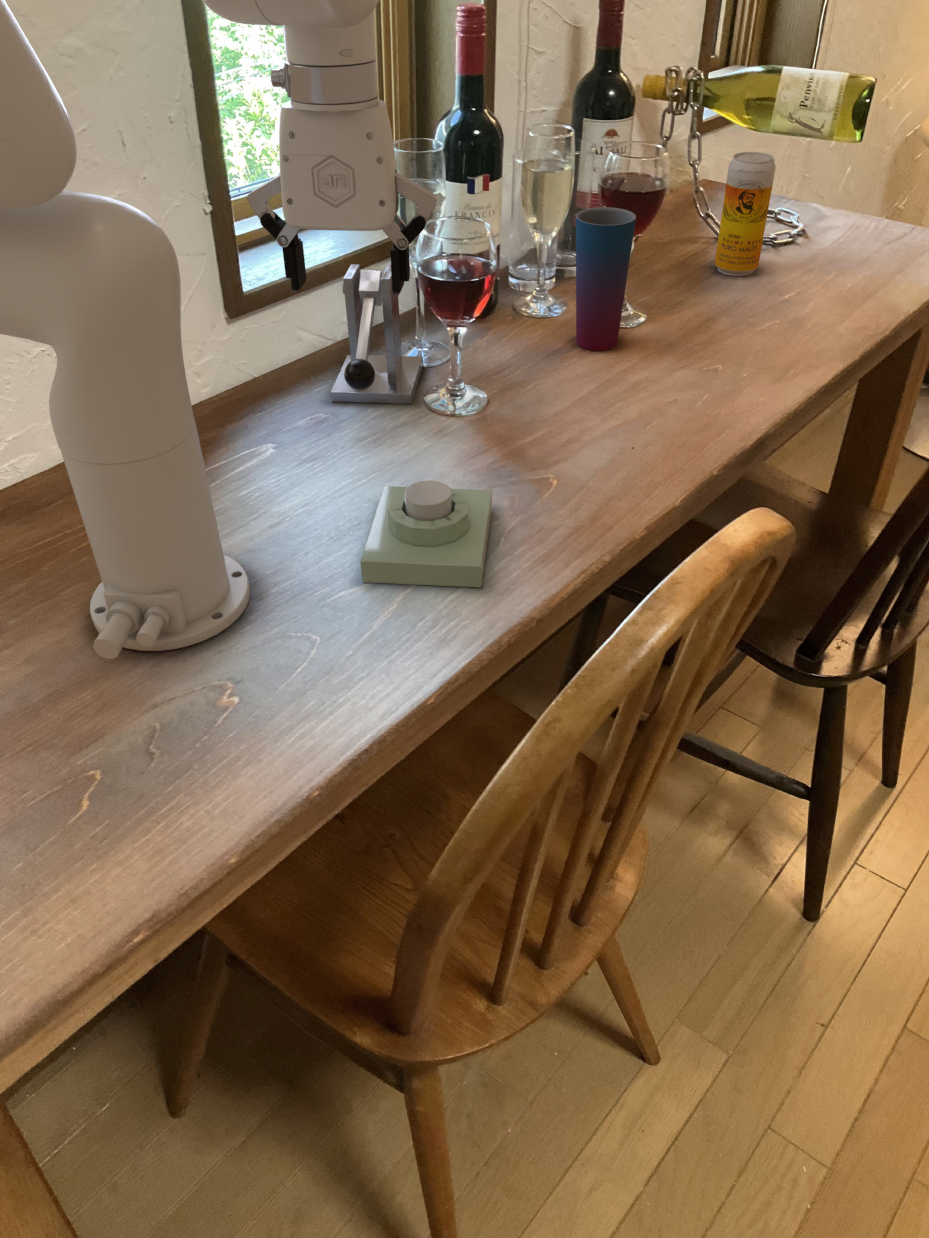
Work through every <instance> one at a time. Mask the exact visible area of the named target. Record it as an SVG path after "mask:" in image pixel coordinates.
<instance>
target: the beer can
mask: <svg viewBox="0 0 929 1238" xmlns="http://www.w3.org/2000/svg"><path fill="white" fill-rule="evenodd" d="M776 168H777V166H776V163H775V156H774V155H773V154H769V153H765V152H760V151H743V152H737V153H734V154H733V156H732V159H731V160H730V162H729V164H728V170H727V176H726V184H725V190H724V197H723V203H722V210H721V218H720V224H719V230H718V236H717V237H718V238H717V244H716V251H715V252H716V253H715V256H714V257H715V258H714V265H715V266H716V268H717V271H718V272H719V273H721V274H723V275H725V276H732V277H733V276H734V277H744V276H749V275H752V274H753V273H754V271H755V270H757V269H758V267H759V265H760V258H761V253H762V248H763V243H764V236H765V231H766V225H767V220H768V219H767V218H768V213H769V207H770V202H771V197H772V196H771V195H772V191H773V185H774V179H775V174H776Z"/></svg>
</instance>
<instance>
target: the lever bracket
mask: <svg viewBox="0 0 929 1238" xmlns="http://www.w3.org/2000/svg"><path fill="white" fill-rule="evenodd" d="M360 274H361V265H360V264H359V263H358V264H357V263H356V264H354V263H351V264H350V266H349V267H348V269H347V271H346V272H345V275H344V276H343V278H342V293H343V295H344V302H345V311H346V324H347V331H348V332H347V333H348V345H349V354H347V355H346V357H345V359H344V362H343V364H342V366H341V368H340V370H339V373H338V375H337V377H336V379H335V381H334V383H333V385H332V388H331V389H330V400H331V402H332V403H363V404H364V403H365V404H366V403H367V404H395V405H396V404H398V405H399V404H400V405H412V404H413V400H414V397H415V394H416V390H417V387H418V383H419V380H420V377H421V373H422V371H423V368H424V357H423V356H416V355H415V356H414V355H413V356H412V355H403V353H402V352H403V351H402V336H401V320H400V318H401V317H400V306H399V305H400V304H399V296H400V293H395V292H393V291H392V274H391V264H387V265H386V266H385V268H384V270H383V273H382V277H381V291H382V305H381V306H382V317H383V330H384V331H383V332H384V333H383V334H384V347H385V355H378V354H376V355H374V354H372V355H371V354H369V356H368V362H370V363H371V364H372V366H373V368H374V370H375V380H374V382H373V384H372V385H371V386H370V387H369V388H367V389H365V390H355V389H353V388H351V387H350V386H349V385H348V384H347V382H346V380H345V377H344V371H345V368H346V366H347V364H348V363H349V362H350V361H352V360H354V359H356V352H357V345H358V337H359V330H360V323H361V315H362V308H363V306H362V304H361V300H360V296H359V292H358V289H359V281H360Z"/></svg>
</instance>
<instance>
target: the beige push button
mask: <svg viewBox="0 0 929 1238" xmlns="http://www.w3.org/2000/svg"><path fill="white" fill-rule="evenodd" d="M406 487H407V489H406V490H405V493H404V495H405V511H406V514H407V515H408V516H409V517H411V518H413V519H416V520H421V521H434V520H438V519H442V518H445V517H447V516H448V515H450V513H451V511H452V492H451V489H450V488H451V487H450V486H449V485H448V484H446V483H444V482H443V481H438V480H419V481H416V482H414V483H412V484H410V485H408V486H406Z"/></svg>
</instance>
